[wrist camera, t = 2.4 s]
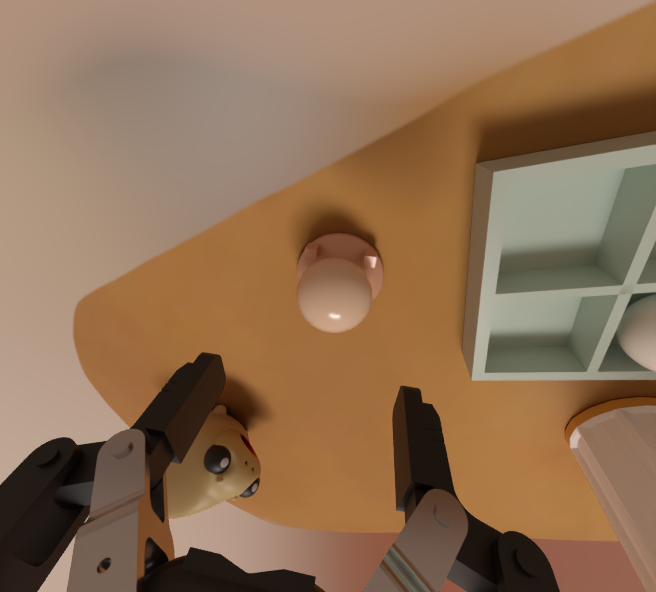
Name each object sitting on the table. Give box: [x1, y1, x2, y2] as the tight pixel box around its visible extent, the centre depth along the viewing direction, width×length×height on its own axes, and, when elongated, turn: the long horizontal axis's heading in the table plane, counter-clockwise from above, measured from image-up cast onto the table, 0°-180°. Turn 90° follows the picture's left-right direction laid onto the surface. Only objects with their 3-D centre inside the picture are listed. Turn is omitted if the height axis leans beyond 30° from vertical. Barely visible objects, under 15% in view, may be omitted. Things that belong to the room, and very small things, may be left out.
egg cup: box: [297, 232, 383, 301], centre depth 20 cm, size 6×6×2 cm
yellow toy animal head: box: [166, 405, 261, 519], centre depth 31 cm, size 10×12×11 cm
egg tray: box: [462, 131, 656, 380], centre depth 16 cm, size 15×15×3 cm
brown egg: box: [297, 257, 372, 333], centre depth 18 cm, size 5×5×5 cm
